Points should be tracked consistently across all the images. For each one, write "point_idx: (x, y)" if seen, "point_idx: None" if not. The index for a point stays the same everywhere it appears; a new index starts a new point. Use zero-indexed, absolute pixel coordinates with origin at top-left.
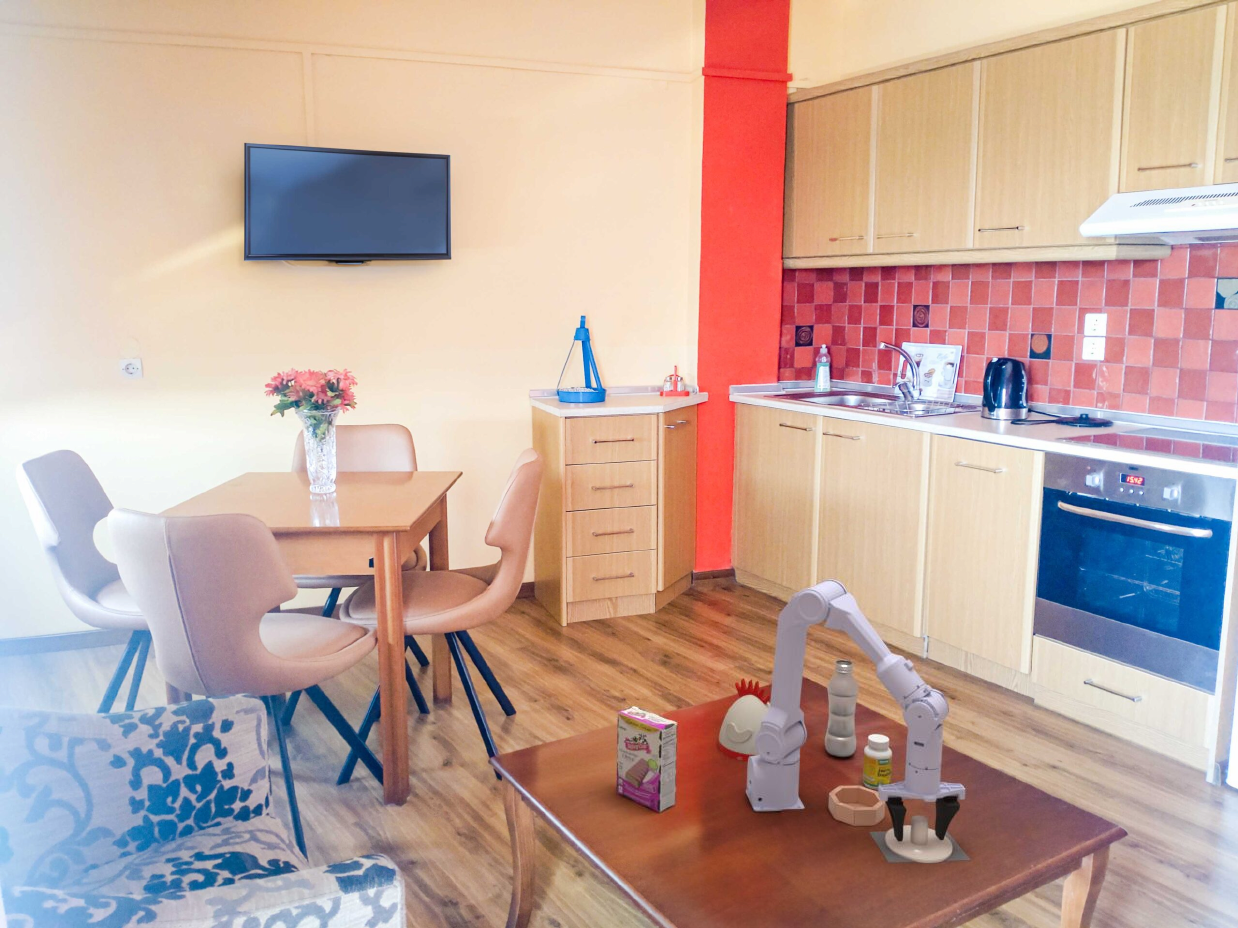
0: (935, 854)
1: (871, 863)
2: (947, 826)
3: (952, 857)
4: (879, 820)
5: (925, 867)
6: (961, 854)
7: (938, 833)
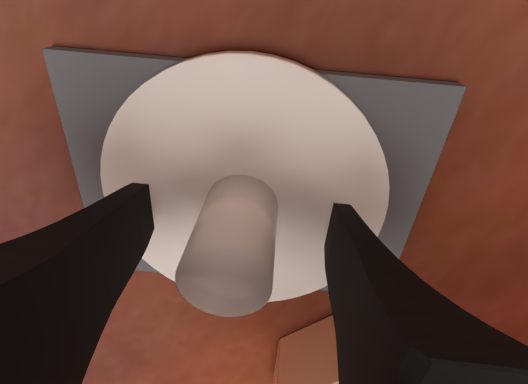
0: (209, 90)
1: (524, 114)
2: (77, 213)
3: (126, 84)
4: (309, 337)
5: (284, 40)
6: (77, 103)
7: (142, 213)
